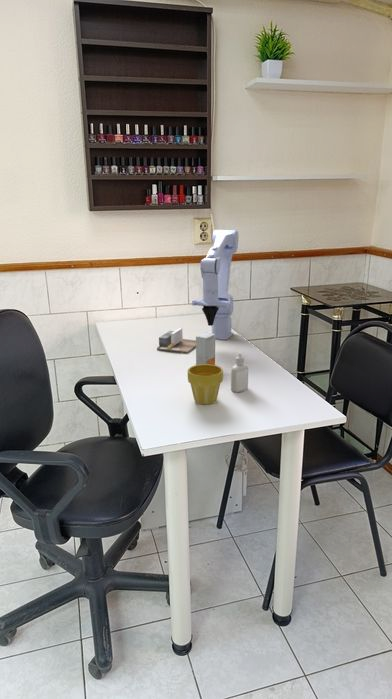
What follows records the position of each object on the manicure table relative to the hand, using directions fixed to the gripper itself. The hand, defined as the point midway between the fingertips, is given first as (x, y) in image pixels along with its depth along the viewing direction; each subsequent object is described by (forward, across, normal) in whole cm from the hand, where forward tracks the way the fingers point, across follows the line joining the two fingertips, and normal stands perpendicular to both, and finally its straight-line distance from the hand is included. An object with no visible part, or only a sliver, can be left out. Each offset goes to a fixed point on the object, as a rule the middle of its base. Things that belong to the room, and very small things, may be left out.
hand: (210, 324), depth 190 cm
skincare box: (+10, +7, -20) cm, 24 cm away
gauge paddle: (+8, -13, -5) cm, 16 cm away
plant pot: (+9, +17, -45) cm, 49 cm away
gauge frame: (+9, -12, -3) cm, 15 cm away
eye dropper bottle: (+9, +24, -34) cm, 43 cm away
